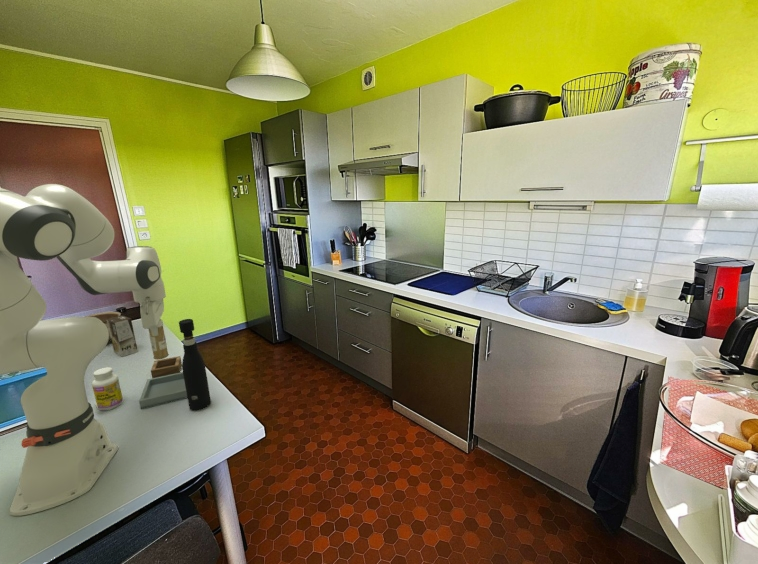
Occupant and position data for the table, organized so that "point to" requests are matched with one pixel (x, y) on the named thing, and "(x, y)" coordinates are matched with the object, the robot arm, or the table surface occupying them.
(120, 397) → the supplement bottle
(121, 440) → the table surface
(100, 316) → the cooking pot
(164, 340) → the sprinkles bottle
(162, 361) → the walnut collar
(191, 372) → the black water bottle
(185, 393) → the slate tray
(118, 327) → the coffee box
